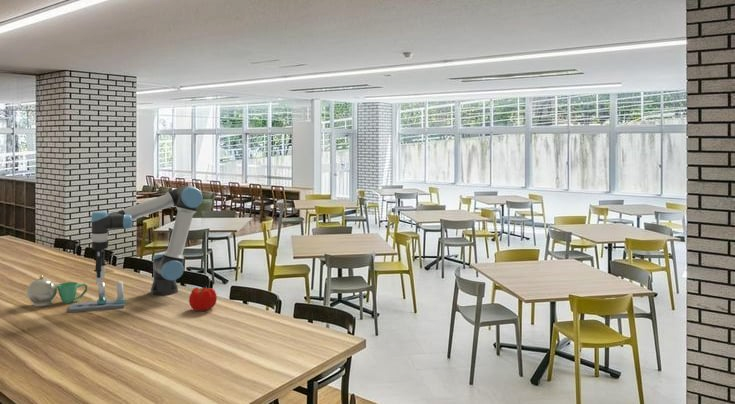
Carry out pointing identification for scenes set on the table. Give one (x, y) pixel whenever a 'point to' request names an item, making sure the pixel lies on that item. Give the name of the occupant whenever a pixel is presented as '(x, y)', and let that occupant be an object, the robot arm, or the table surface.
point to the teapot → (42, 292)
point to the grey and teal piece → (94, 306)
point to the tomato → (202, 299)
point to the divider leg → (101, 294)
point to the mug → (70, 291)
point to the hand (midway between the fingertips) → (100, 280)
